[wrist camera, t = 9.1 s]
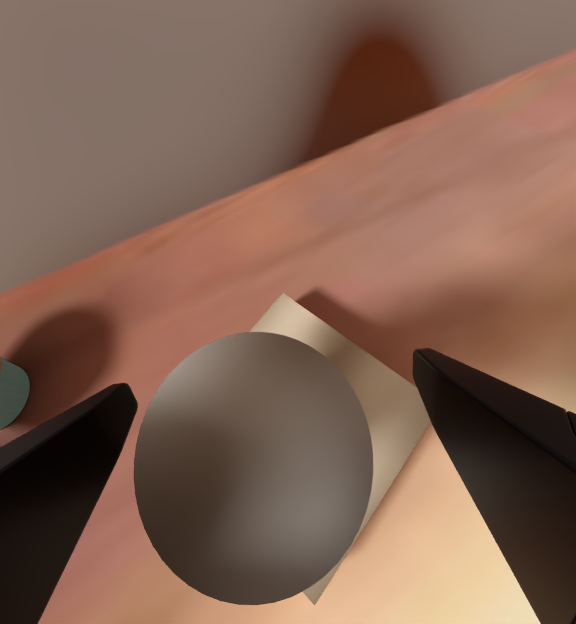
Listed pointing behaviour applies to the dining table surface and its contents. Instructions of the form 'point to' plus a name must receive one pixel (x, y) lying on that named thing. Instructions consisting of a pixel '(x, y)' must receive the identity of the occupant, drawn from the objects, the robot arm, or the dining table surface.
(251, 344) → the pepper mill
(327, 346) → the birch block
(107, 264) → the dining table surface
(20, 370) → the cupcake
